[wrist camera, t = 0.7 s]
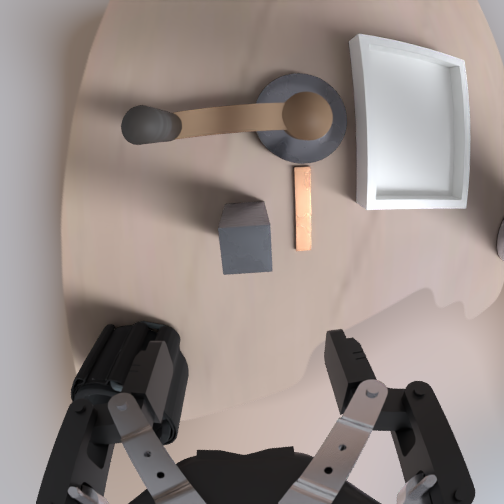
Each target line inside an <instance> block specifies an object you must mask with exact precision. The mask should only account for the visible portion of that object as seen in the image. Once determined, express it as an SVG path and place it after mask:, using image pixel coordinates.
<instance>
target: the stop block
mask: <svg viewBox="0 0 504 504" xmlns="http://www.w3.org/2000/svg"><path fill="white" fill-rule="evenodd" d="M218 232H219V241H220V250H221V258H222V266H223V274H224V275H226V274H242V273H256V272H270V271H272V252H271V231H270V222H269V218H268V214H267V210H266V207H265V203H264V201H260V202H246V203H233V204H225V206H224V210H223V213H222V216H221V220H220V223H219V227H218Z"/></svg>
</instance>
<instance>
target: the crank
mask: <svg viewBox="0 0 504 504" xmlns="http://www.w3.org/2000/svg"><path fill="white" fill-rule="evenodd" d="M332 121H333V114H332V110H331V107H330V105H329V104H328V102H327V101H326V100H325V99H324V98H323V97H322V96H320V95H318V94H316V93H313V92H307V91H306V92H299V93H296V94H294V95H293V96H291V97H290V98H289V99H288V100H286V101H285V102H284V103H260V104H243V105H231V106H220V107H211V108H202V109H194V110H187V111H180V112H174V113H171V112H167V111H163V110H160V109H156V108H152V107H148V106H143V105H140V106H136V107H133V108H131V109H130V110H129V111H128V112H127V113H126V114H125V116H124V118H123V120H122V124H121V130H122V134H123V136H124V138H125V139H126V140H127V141H128V142H130V143H132V144H135V145H141V144H149V143H157V142H167V141H172V140H175V139H182V138H190V137H198V136H206V135H216V134H226V133H238V132H252V131H270V130H284V131H285V132H286V133H287V134H288V135H289V136H291V137H293V138H295V139H299V140H316V139H319V138H321V137H323V136H324V135H325V134H326V133H327V132H328V131H329V129H330V127H331V125H332Z"/></svg>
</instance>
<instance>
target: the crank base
mask: <svg viewBox="0 0 504 504" xmlns="http://www.w3.org/2000/svg"><path fill="white" fill-rule="evenodd" d="M306 91H307V92H313V93H316V94H318V95H320V96H322V97H323V98H324V99H325V100H326V101H327V102H328V104H329V105H330V107H331V110H332V114H333V121H332V125H331V127H330V129H329V131H328V132H327V133H326V134H325V135H324V136H323V137H321V138H319V139H316V140H299V139H295V138H293V137H291V136H289V135H288V134H287V133H286V132H285V131H284V130H270V131H256V132H257V135H258V137H259V138H260V140H261V142H262V143H263V144H264V146H265V147H266V148H267V149H268V150H269V151H271V152H272V153H273V154H275V155H276V156H278V157H280V158H282V159H284V160H286V161H290V162H294V163H312V162H316V161H319V160H322V159H323V158H325V157H327V156H329V155H330V154H331V153H332V152H334V151H335V150H336V148H337V147H338V146H339V145H340V143H341V141H342V140H343V137H344V135H345V131H346V126H347V115H346V110H345V106H344V104H343V101H342V99H341V98H340V96H339V95H338V93H337V92H336V91H335V90H334V89H333V87H331V86H330V85H329V84H328V83H326V82H325V81H323V80H322V79H320V78H318V77H315V76H312V75H308V74H300V73H298V74H289V75H285V76H282V77H279V78H277V79H275V80H274V81H272V82H271V83H270V84H268V85H267V86H266V87H265V88H264V90H263V91H262V92H261V94H260V95H259V97H258V100H257V102H256V104H260V103H284V102H285V101H286V100H288V99H289V98H290V97H291V96H293V95H294V94H296V93H299V92H306ZM294 185H295V221H296V251H305V250H311V181H310V167H294Z"/></svg>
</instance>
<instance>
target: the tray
mask: <svg viewBox="0 0 504 504" xmlns="http://www.w3.org/2000/svg"><path fill="white" fill-rule="evenodd" d="M349 49H350V57H351V66H352V76H353V88H354V102H355V119H356V149H357V191H356V203H357V204H359V205H360V206H362V207H363V208H365V209H366V210H376V209H427V208H466V206H467V196H468V185H469V171H470V110H469V96H468V85H467V76H466V69H465V62H464V60H461V59H459V58H456V57H453V56H450V55H447V54H444V53H441V52H438V51H435V50H431V49H428V48H424V47H421V46H417V45H413V44H409V43H405V42H401V41H396V40H392V39H387V38H382V37H377V36H371V35H365V34H357V35H356V36H355V37H354V38H352V39H351V40H350V41H349Z"/></svg>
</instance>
